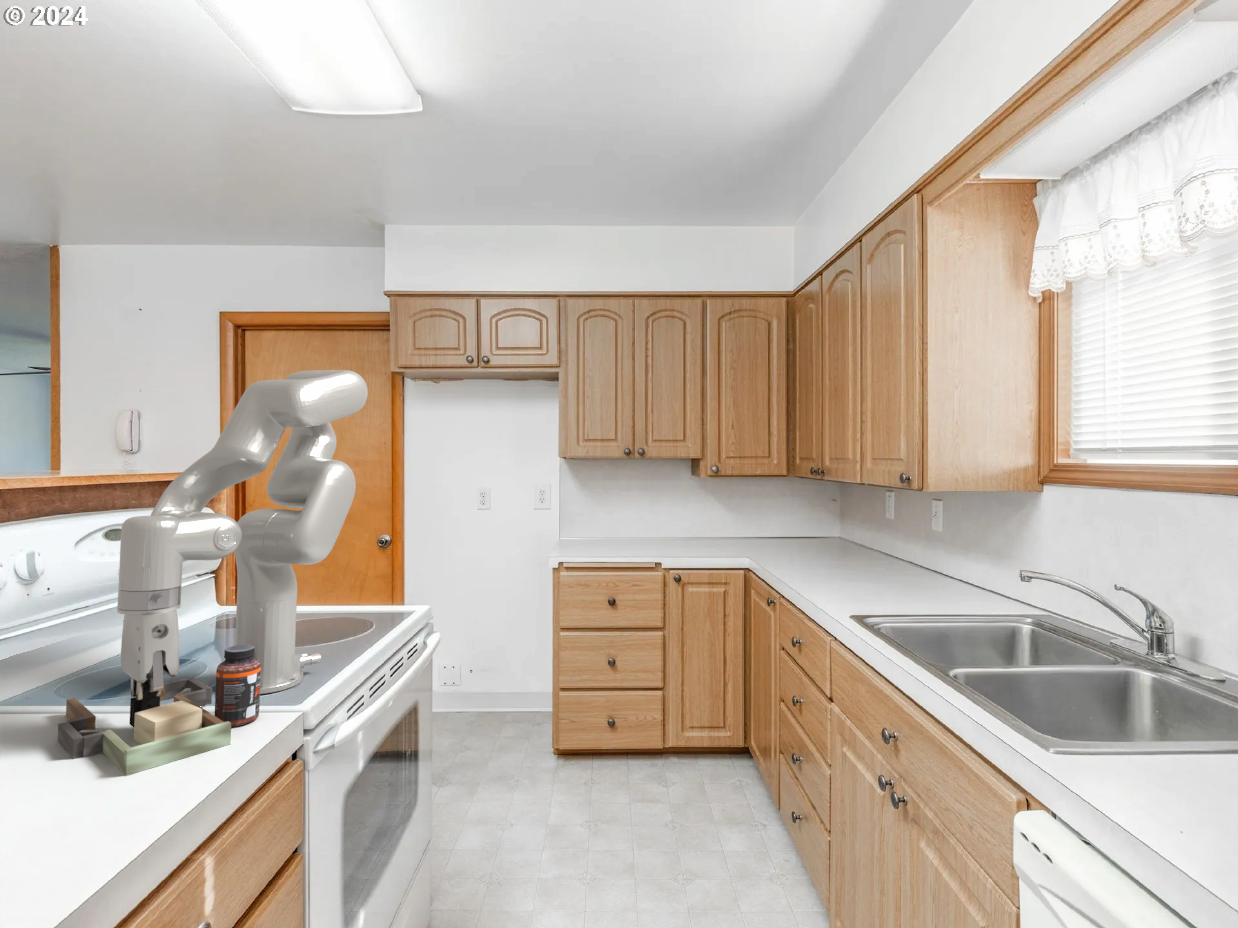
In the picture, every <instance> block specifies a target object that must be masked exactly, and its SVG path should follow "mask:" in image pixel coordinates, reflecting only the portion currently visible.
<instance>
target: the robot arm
mask: <svg viewBox="0 0 1238 928" xmlns="http://www.w3.org/2000/svg"><path fill="white" fill-rule="evenodd" d="M368 389H369V388H368V386H367V383H366V381H365V379H364V378H363V377H362V376H361V375H360V373H357V372H356V371H353V370H350V369H327V370H326V369H321V370H319V369H315V370H314V369H313V370H312V369H311V370H299V371H295V372H292V373H290V374H289V375H287V377H285V378H284V379H266V380H265V379H264V380H263V379H262V380H258V381H255V382H253V383H252V384H249V385H248V387H247V388H246V389H245V391H244V392H243V393H242V395H241V397H240V399H239V400H238V402H237V404H236V406H235V407H234V410H233V412H232V414H231V415H230V417H229V419H228V421H227V423H226V425H225V426H224V428H223V430H222V432H221V433H220V435H219V437H218V438H217V440H216V443H215V444H214V446H213V447H212V449H210V450H209V451H208V452H207V453H206V454H204V455H203V456H201V457H200V458H198V459H197V460H196V461H194V462H193V463H192V464H191V465H190V466H188V467H187V468H185V470H184V471H182V472H181V473H180V474H178V475H177V476H176V477H175V478H174V479H173V480H172V481H171V482H170V483H169V484H168V486H166V488H165V489H164V491H163V492H162V494H161V496H160V498H159V499H158V501H157V503H156V504H155V506H154V508H153V510H152V511H151V514H150V515H138V516H132V517H129V518H126V520H124V522H122V526H121V529H120V530H121V531H120V545H119V546H120V548H119V567H118V568H119V569H118V571H119V572H118V588H117V589H118V591H117V592H118V593H117V609H116V611H117V614H120V615H123V619H122V621H123V623H122V633H121V643H120V644H121V646H120V666H121V670H122V672H123V673H125V674H126V675H128V676H129V677H130V705H129V706H130V707H129V725H130V726H131V727H132V728H133V729H134V721H135V713H136V712H140V711H144V710H147V709H151V708H155V707H159V706H161V700H160V695H161V690H163V687H164V686H163V683H164V673H165V674H166V675H167V676H169V677H171V678H176V677H177V676H178V674H179V672H180V630H179V628H180V627H179V618H178V617H179V616H178V612H177V610H178V609H180V608H181V605H182V603H181V601H182V584H183V583H182V581H183V563H184V562H185V561H217V560H221V559H224V558H226V557H228V556H230V555H232V554H233V553H234V557H235V563H236V571H237V573H236V574H237V578H236V579H237V584H236V585H237V587H236V589H237V590H236V609H235V610H236V611H235V613H236V614H235V634H234V635H235V637H234V638H235V639H234V643H235V644H234V646H236V645H253V646H254V647H255V654H254V656H255V658H256V659H258V660H259V661H260V663H261V678H260V679H261V680H260V695H264V694H265V695H266V694H271V693H277V692H279V691H283V690H288V689H291V688H293V687H295V686H298V684H300V683H301V682H302V681H303V679H304V672H303V670H302V669H304V668H305V666H313V665H317V664H319V663H321V661H322V656H321V654H320V652H316V653H315V652H314V653H311V654H307V652H303V653H296V652H295V651H296V631H297V630H296V628H297V627H296V626H297V624H296V623H297V603H298V601H297V600H298V581H297V576H296V572H295V570H294V568H293V566H292V565H302V566H304V565H305V566H308V565H309V566H311V565H315V564H319V563H321V562H322V561H324V560H325V559H326V558H327V557H328V556H329V554H330V553H331V552H332V550H333V548H334V547H335V544H336V541H337V540H338V537H339V535H340V532H341V531H342V528H343V526H344V524H345V520H346V518H347V516H348V514H349V512H350V509H351V506H352V504H353V501H354V498H355V496H356V489H357V488H356V486H357V484H356V476H355V474H354V472H353V469H352V468H351V467H350V466H349V465H348V464H347V463H346V462H344V461H341V460H339V459H333V457H334V454H335V452H336V449H337V443H338V442H337V436H336V433H335V430H334V428H333V426H332V424H331V422H334V421H338V420H340V419H343V418H346V417H349V416H352V415H355V414H356V413H359V411H360V410H362V409H363V407H364V406H365V404H366V403H367V399H368V396H369V392H368V391H369V390H368ZM287 428H290V429H291V430H290V434H289V438H288V440H287V442H286V444H285V446H284V448H283V450H282V452H281V454H280V456H279V458H278V460H277V462H276V464H275V466H274V468H273V470H272V472H271V473H270V477H269V479H268V482H267V486H266V493H267V496H268V498H269V500H270V501H272V502H273V503H274V504H276V505H278V506H281V507H285V508H293V509H294V510H293V509H292V510H291V509H279V508H259V509H255V510H251V511H249V512H247V513H245V514H244V515H242V516H241V517H240V518H239V519H238V520H237V521H236V520H235V519H234V518H232V517H230V516H228V515H226V514H222V513H217V512H203V509H204V508H205V507H206V506H207V504H208V503H210V501H211V500H212V499H213V498H214V497H216V496H217V495H218V494H220V493H222V492H223V491H224V490H226V489H228V488H231V487H232V486H235V485H236V484H240V483H242V482H245V481H246V480H249V479H251V478H253V477H256V476H257V475H259V474H261V473H263V472H264V471H265V470H266V469H267V467H268V466H269V463H270V461H271V460H272V458H273V455H274V453H275V451H276V449H277V447H278V445H279V443H280V441H281V439H282V436H283V435H284V433H285V431H286V430H287ZM295 509H302V510H295Z"/></svg>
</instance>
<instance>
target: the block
mask: <svg viewBox="0 0 1238 928" xmlns="http://www.w3.org/2000/svg"><path fill="white" fill-rule="evenodd" d="M201 708H202V707H201ZM201 708H199V707H196V706H194V705H192V704H189V703H187V702H184V701H182V700H181V701H177V702H174V701H173V702H169V703H167V704H162V705H160V706H159V707H155V708H151V709H147V710H144V711H140V712H136V713H135V721H134V728H133V741H135V742H137V743H139V744H140V745H142V744H146V743H150V742H153V741H157V740H161V739H164V738H168V737H172V736H175V735H179V734H183V733H186V732H190V731H194V730H197V729H201V728H202V709H201Z"/></svg>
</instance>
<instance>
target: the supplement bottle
mask: <svg viewBox="0 0 1238 928" xmlns="http://www.w3.org/2000/svg"><path fill="white" fill-rule="evenodd" d="M223 654H224V655H223V658H224V661H221V662H220V663H219V664H218V665H217V667H216V671H215V673H216V674H215V675H216V676H215V693H214V714H213V715H214V716H215V717H217V718H219V719H220V720H222V721H223V722H227V721H229V722H230V723H231V728H234V727H235V728H236V727H240V726H245V725H247V724H250V723H253V722H255V720H256V719H257V718H258V717H259V715H260V701H261V700H260V698H261V694H260V680H261V679H260V678H261V663H260V661H259V660H258V659H256V658H255V656H254V654H255V647H254V646H253V645H236V646H235V645H233V646H231V645H230V646H228V647H226V648H225V649H224V653H223Z"/></svg>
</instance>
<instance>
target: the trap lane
mask: <svg viewBox="0 0 1238 928" xmlns="http://www.w3.org/2000/svg"><path fill="white" fill-rule="evenodd" d="M163 686H164V687H163V690H161V695H160V701H163V700H168V699H172V698H173V702H177V701H181V700H182V701H184V702H187V703H189V704H192V705H194V706H196V707H199V708H201V709H202V728H201V729H197V730H194V731H190V732H186V733H183V734H179V735H175V736H172V737H168V738H164V739H161V740H157V741H153V742H150V743H146V744H140V745H135V746H133V747H130V745H129V744H127V743H126V742H125V741H124V740H122V738H121V737H119V736H118V735H117V733H115V732H114V731H113V730H112V729H104V728H103V729H96V718H97V717H96V715H95V714H93V713H92V711H90V709H88V708H87V707H86V706H85V705H84V704H83V703H81V702H80V701H79V700H78V699H77V698H76V697H72V698H68V699H66V703H65V704H66V705H65V706H66V707H65V710H66V711H65V717H66V718H67V719H68V720H66V721H65V722H59V723H58V724H57V725H58V726H57V743H58V744H59V745H60V746H61V748H63V749H64V751H66V753H67V754H68V755H69V756H70V757H71V758H72V759H73V760H74V759H77V758H80V757H83V758H86V757H90V756H94V755H97V754H102V753H103V754H104V755H105V756H106V757H107V758H108V759H109V761H111V762H112V763H113V764H114V765H115V766H116V767H117V769H119V770H120V771H121V772H122V773H123V774H124V775H125V776H130V775H132V774H137V773H140V772H142V771H146V770H149V769H153V768H155V767H159V766H162V765H165V764H168V763H169V764H170V763H172V762H176V761H179V760H182V759H185V758H189V757H193V756H195V755H199V754H202V753H206V752H209V751H212V750H216V749H219V748H222V747H225V746H228V745H231V737H232V736H231V734H232V727H231V723H230V722H229V721H227V722H223V721H222V720H220V719H219V718H217V717H215V716H214V715H215V714H213V713H212V712H209V711H207V710H206V709H204V708H203V707H200V706H204V707H206V706H208V705H210V704H211V705H212V700H213V699H212V698H213V695H212V694H213V688H212V687H211V686H209V685H207V684H205V683H204V682H202V681H200V680H199V679H197V678H195V677H190V678H189V677H188V678H186V677H185V678H180V679H176V680H171V681H167V682H163ZM205 705H206V706H205Z"/></svg>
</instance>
